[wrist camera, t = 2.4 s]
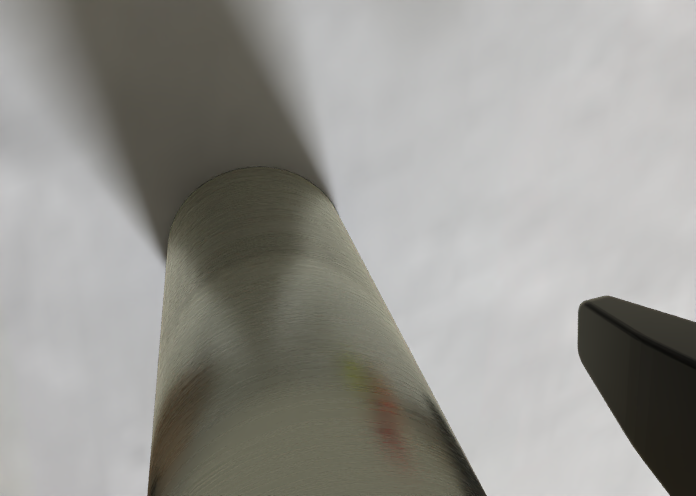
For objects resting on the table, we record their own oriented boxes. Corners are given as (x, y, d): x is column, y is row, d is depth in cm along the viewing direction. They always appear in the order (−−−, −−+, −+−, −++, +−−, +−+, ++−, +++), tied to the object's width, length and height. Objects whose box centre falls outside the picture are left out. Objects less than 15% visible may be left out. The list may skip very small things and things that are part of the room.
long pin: (193, 343, 14) (195, 1041, 5) (144, 188, 12) (22, 825, 3) (355, 303, 14) (614, 882, 6) (329, 149, 13) (635, 623, 4)
